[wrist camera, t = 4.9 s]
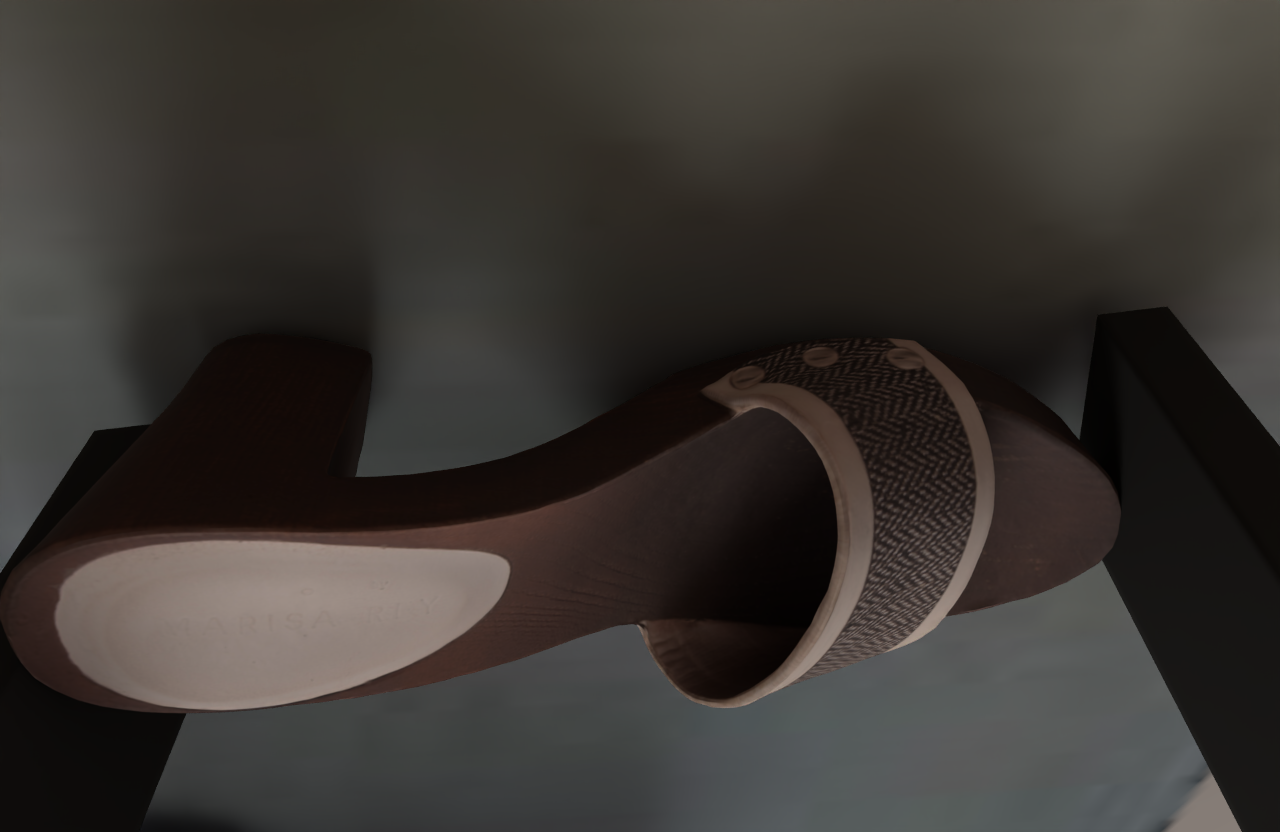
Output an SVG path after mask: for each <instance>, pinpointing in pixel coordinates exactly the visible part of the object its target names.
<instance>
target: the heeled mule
mask: <svg viewBox="0 0 1280 832" xmlns="http://www.w3.org/2000/svg"><path fill="white" fill-rule="evenodd" d="M371 381H372V357H371V354H370V353H369V352H367V351H365V350H364V349H361V348H357V347H353V346H348V345H343V344H339V343H334V342H329V341H324V340H318V339H313V338H307V337H297V336H288V335H279V334H261V333H258V334H251V335H243V336H239V337H236V338H232V339H228V340H226V341H224V342H223V343H221V344H219V345H217V346H216V347H214V348H213V349H212V350H211V351H210V352H209V353H208V355H207V356H206V357H205V358H204V360H203V361H202V363H201V364H200V366H199V367H198V368H197V370H196V371H195V372H194V374H193V375H192V376H191V378H190V379H189V381H188V382H187V383H186V385H185V386H184V387H183V389H182V390H181V391H180V392H179V394H178V395H177V396H176V397H175V399H174V400H173V401H172V402H171V403H170V405H169V406H168V407H167V408H166V409H165V410H164V411H163V412H162V413H161V414H160V416H159V417H158V418H157V419H156V420H155V421H154V422H153V423H152V424H151V425H150V426H149V427H148V428H147V429H146V430H145V432H144V433H143V434H142V435H141V436H140V437H139V438H138V439H137V440H136V441H135V442H134V443H133V444H132V445H131V446H130V447H129V448H128V450H127V451H126V452H125V453H124V454H123V455H122V456H121V457H120V458H119V459H118V460H117V461H116V462H115V463H114V464H113V465H112V466H111V467H110V468H109V469H108V470H107V472H106V473H105V474H104V475H103V476H102V477H101V478H100V479H99V480H98V481H97V482H96V483H95V484H94V485H93V486H92V487H91V489H90V490H89V491H88V492H87V493H86V494H85V495H84V496H83V497H82V498H81V499H80V500H79V501H78V503H77V504H76V505H75V506H74V507H73V508H72V509H71V510H70V511H69V512H68V513H67V514H66V515H65V516H64V517H63V518H62V519H61V520H60V521H59V522H58V524H57V525H56V526H55V527H54V528H53V529H52V530H51V531H50V532H49V534H48V535H47V536H46V537H45V538H44V539H43V540H42V541H41V542H40V543H39V544H38V545H37V546H36V547H35V548H34V549H33V550H32V551H31V552H30V553H29V554H28V555H27V556H26V557H25V558H24V559H23V560H22V561H21V562H20V563H19V564H18V565H17V566H16V567H15V568H14V569H13V570H12V572H11V573H10V575H9V577H8V579H7V581H6V583H5V585H4V587H3V589H2V591H1V597H0V620H1V623H2V625H3V628H4V631H5V633H6V636H7V638H8V641H9V643H10V645H11V647H12V649H13V651H14V652H15V654H16V656H17V658H18V659H19V660H20V662H21V663H22V664H23V666H24V667H25V668H26V669H27V670H28V671H29V672H30V673H31V675H32V676H33V677H34V678H35V679H37V680H38V681H40V682H42V683H43V684H45V685H47V686H48V687H50V688H52V689H53V690H55V691H57V692H60V693H62V694H64V695H67V696H69V697H71V698H74V699H76V700H79V701H83V702H87V703H90V704H94V705H98V706H103V707H110V708H116V709H123V710H132V711H140V712H157V713H213V712H234V711H248V710H260V709H268V708H276V707H283V706H290V705H300V704H310V703H319V702H327V701H333V700H339V699H350V698H358V697H363V696H368V695H374V694H380V693H386V692H391V691H397V690H403V689H408V688H414V687H419V686H423V685H427V684H431V683H435V682H439V681H444V680H447V679H451V678H454V677H457V676H461V675H466V674H471V673H475V672H478V671H481V670H484V669H487V668H491V667H494V666H497V665H500V664H504V663H507V662H511V661H515V660H518V659H521V658H524V657H527V656H530V655H533V654H535V653H538V652H541V651H543V650H546V649H549V648H552V647H555V646H558V645H560V644H563V643H565V642H568V641H571V640H573V639H576V638H579V637H582V636H585V635H589V634H592V633H595V632H598V631H601V630H604V629H607V628H610V627H614V626H618V625H627V624H635V625H637V626H638V627H639V629H640V631H641V633H642V636H643V638H644V641H645V643H646V645H647V648H648V650H649V652H650V653H651V655H652V657H653V659H654V661H655V662H656V664H657V665H658V667H659V668H660V670H661V671H662V672H663V674H664V675H665V676H666V677H667V679H668V680H669V681H670V682H671V684H672V685H673V686H674V687H675V688H676V689H677V690H678V691H679V692H681V693H682V694H683V695H684V696H686V697H687V698H688V699H690V700H692V701H694V702H696V703H699V704H704V705H707V706H710V707H719V708H732V707H740V706H744V705H748V704H750V703H752V702H754V701H756V700H758V699H760V698H762V697H764V696H766V695H768V694H770V693H772V692H775V691H778V690H780V689H783V688H786V687H788V686H791V685H793V684H796V683H799V682H801V681H804V680H807V679H810V678H813V677H816V676H819V675H823V674H826V673H829V672H831V671H834V670H837V669H840V668H843V667H846V666H849V665H851V664H854V663H857V662H859V661H862V660H864V659H867V658H870V657H873V656H876V655H879V654H881V653H885V652H888V651H891V650H894V649H897V648H900V647H902V646H905V645H907V644H909V643H912V642H914V641H916V640H918V639H920V638H921V637H923V636H924V635H925V634H927V633H928V632H930V631H931V630H933V629H934V628H936V627H937V625H938V624H939V623H940V621H941V620H942V619H943V618H944V617H945V616H951V615H958V614H963V613H969V612H974V611H978V610H982V609H986V608H990V607H994V606H997V605H1001V604H1004V603H1007V602H1011V601H1015V600H1019V599H1024V598H1028V597H1031V596H1034V595H1036V594H1039V593H1042V592H1044V591H1047V590H1049V589H1052V588H1054V587H1056V586H1058V585H1061V584H1064V583H1066V582H1068V581H1069V580H1071V579H1073V578H1075V577H1076V576H1078V575H1080V574H1082V573H1083V572H1085V571H1087V570H1088V569H1090V568H1091V567H1093V566H1095V565H1096V564H1098V563H1099V562H1100V561H1101V560H1102V559H1103V558H1104V557H1105V555H1106V554H1107V553H1108V552H1109V551H1110V550H1111V549H1112V547H1113V545H1114V543H1115V540H1116V538H1117V535H1118V530H1119V524H1120V517H1121V503H1120V498H1119V494H1118V491H1117V489H1116V487H1115V485H1114V483H1113V481H1112V479H1111V477H1110V476H1109V475H1108V473H1107V472H1106V471H1105V470H1104V469H1103V468H1102V467H1101V466H1100V464H1099V463H1098V462H1097V461H1096V460H1095V458H1094V457H1093V456H1092V455H1091V453H1090V452H1089V451H1088V450H1087V449H1086V448H1085V447H1084V445H1083V444H1082V443H1081V442H1080V441H1079V439H1078V438H1077V437H1076V436H1075V435H1074V433H1073V432H1072V431H1071V430H1070V428H1069V427H1068V426H1067V425H1066V424H1065V422H1064V421H1063V420H1062V419H1061V418H1060V417H1059V416H1058V415H1057V414H1056V413H1055V412H1053V411H1052V410H1051V409H1050V408H1049V407H1047V406H1046V405H1045V404H1044V403H1042V402H1041V401H1040V400H1038V399H1037V398H1036V397H1034V396H1033V395H1031V394H1030V393H1028V392H1027V391H1025V390H1024V389H1023V388H1021V387H1020V386H1018V385H1017V384H1015V383H1014V382H1012V381H1010V380H1009V379H1007V378H1005V377H1003V376H1001V375H999V374H997V373H994V372H992V371H990V370H988V369H986V368H984V367H981V366H979V365H977V364H975V363H972V362H969V361H966V360H964V359H961V358H958V357H955V356H952V355H948V354H945V353H942V352H939V351H935V350H932V349H928V348H924V347H922V346H921V345H919V344H918V343H917V342H916V341H912V340H903V339H892V338H833V339H818V340H808V341H801V342H794V343H788V344H781V345H774V346H769V347H765V348H761V349H757V350H753V351H749V352H745V353H742V354H738V355H734V356H730V357H727V358H723V359H719V360H715V361H711V362H708V363H704V364H701V365H698V366H695V367H692V368H689V369H686V370H683V371H680V372H677V373H674V374H673V375H671V376H670V377H668V378H667V379H666V380H664V381H662V382H660V383H658V384H656V385H654V386H653V387H651V388H649V389H648V390H646V391H644V392H643V393H641V394H639V395H638V396H636V397H634V398H633V399H631V400H629V401H627V402H625V403H624V404H622V405H620V406H618V407H616V408H614V409H612V410H610V411H608V412H606V413H604V414H602V415H600V416H598V417H596V418H595V419H593V420H591V421H589V422H588V423H586V424H584V425H582V426H581V427H579V428H577V429H575V430H573V431H571V432H568V433H566V434H564V435H562V436H560V437H558V438H556V439H554V440H552V441H549V442H547V443H545V444H542V445H539V446H537V447H534V448H532V449H529V450H526V451H523V452H520V453H517V454H514V455H512V456H509V457H505V458H502V459H498V460H493V461H489V462H485V463H480V464H476V465H471V466H466V467H460V468H454V469H448V470H441V471H433V472H426V473H418V474H410V475H394V476H378V477H355V476H356V472H357V466H358V461H359V457H360V454H361V450H362V446H363V440H364V433H365V427H366V419H367V412H368V404H369V397H370V390H371Z"/></svg>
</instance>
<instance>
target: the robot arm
mask: <svg viewBox="0 0 1280 832" xmlns="http://www.w3.org/2000/svg"><path fill="white" fill-rule="evenodd" d="M150 425H151V424H149V425H140V426H131V427H123V428H114V429H106V430H97V431H94V432H93V434H92V435H91V437H90V438H89V440H88V441H87V443H86V444H85V446H84V447H83V449H82V450H81V452H80V453H79V455H78V456H77V458H76V459H75V461H74V462H73V464H72V465H71V467H70V469H69V470H68V472H67V473H66V475H65V476H64V478H63V479H62V481H61V482H60V484H59V485H58V487H57V488H56V490H55V491H54V493H53V494H52V496H51V497H50V499H49V500H48V502H47V503H46V505H45V506H44V508H43V509H42V511H41V512H40V514H39V516H38V517H37V519H36V520H35V522H34V523H33V525H32V526H31V528H30V529H29V531H28V532H27V534H26V535H25V537H24V538H23V540H22V541H21V543H20V544H19V546H18V547H17V549H16V550H15V552H14V553H13V555H12V556H11V558H10V559H9V561H8V562H7V564H6V566H5V567H4V569H3V570H2V572H1V573H0V597H1V591H2V589H3V587H4V585H5V583H6V581H7V579H8V577H9V575H10V573H11V572H12V570H13V569H14V568H15V567H16V566H17V565H18V564H19V563H20V562H21V561H22V560H23V559H24V558H25V557H26V556H27V555H28V554H29V553H30V552H31V551H32V550H33V549H34V548H35V547H36V546H37V545H38V544H39V543H40V542H41V541H42V540H43V539H44V538H45V537H46V536H47V535H48V534H49V532H50V531H51V530H52V529H53V528H54V527H55V526H56V525H57V524H58V522H59V521H60V520H61V519H62V518H63V517H64V516H65V515H66V514H67V513H68V512H69V511H70V510H71V509H72V508H73V507H74V506H75V505H76V504H77V503H78V501H79V500H80V499H81V498H82V497H83V496H84V495H85V494H86V493H87V492H88V491H89V490H90V489H91V487H92V486H93V485H94V484H95V483H96V482H97V481H98V480H99V479H100V478H101V477H102V476H103V475H104V474H105V473H106V472H107V470H108V469H109V468H110V467H111V466H112V465H113V464H114V463H115V462H116V461H117V460H118V459H119V458H120V457H121V456H122V455H123V454H124V453H125V452H126V451H127V450H128V448H129V447H130V446H131V445H132V444H133V443H134V442H135V441H136V440H137V439H138V438H139V437H140V436H141V435H142V434H143V433H144V432H145V430H146V429H147V428H148V427H149V426H150ZM1080 442H1081V443H1082V444H1083V445H1084V447H1085V448H1086V449H1087V450H1088V451H1089V452H1090V453H1091V455H1092V456H1093V457H1094V458H1095V460H1096V461H1097V462H1098V463H1099V464H1100V466H1101V467H1102V468H1103V469H1104V470H1105V471H1106V472H1107V473H1108V475H1109V476H1110V477H1111V479H1112V481H1113V483H1114V485H1115V487H1116V489H1117V491H1118V494H1119V498H1120V503H1121V517H1120V524H1119V530H1118V535H1117V538H1116V540H1115V543H1114V545H1113V547H1112V549H1111V550H1110V551H1109V552H1108V553H1107V554H1106V555H1105V557H1104V558H1103V559H1102V561H1103V563H1104V565H1105V566H1106V568H1107V570H1108V572H1109V574H1110V576H1111V578H1112V580H1113V582H1114V584H1115V586H1116V588H1117V590H1118V592H1119V594H1120V596H1121V598H1122V599H1123V601H1124V603H1125V605H1126V607H1127V609H1128V611H1129V613H1130V615H1131V617H1132V619H1133V621H1134V623H1135V625H1136V627H1137V629H1138V631H1139V633H1140V634H1141V636H1142V638H1143V640H1144V642H1145V644H1146V646H1147V648H1148V650H1149V652H1150V654H1151V656H1152V658H1153V660H1154V662H1155V664H1156V666H1157V668H1158V669H1159V671H1160V673H1161V675H1162V677H1163V679H1164V681H1165V683H1166V685H1167V687H1168V689H1169V691H1170V693H1171V695H1172V697H1173V699H1174V701H1175V703H1176V704H1177V706H1178V708H1179V710H1180V712H1181V714H1182V716H1183V718H1184V720H1185V722H1186V724H1187V726H1188V728H1189V730H1190V732H1191V734H1192V736H1193V738H1194V739H1195V741H1196V743H1197V745H1198V747H1199V749H1200V751H1201V753H1202V755H1203V757H1204V759H1205V761H1206V763H1207V765H1208V767H1209V769H1210V771H1211V773H1212V774H1213V776H1214V778H1215V780H1216V782H1217V784H1218V786H1219V788H1220V790H1221V792H1222V794H1223V796H1224V798H1225V800H1226V802H1227V804H1228V805H1229V807H1230V809H1231V811H1232V813H1233V815H1234V817H1235V819H1236V821H1237V823H1238V825H1239V827H1240V829H1241V831H1242V832H1280V446H1279V445H1278V444H1277V442H1276V441H1275V440H1274V439H1273V437H1272V436H1271V435H1270V434H1269V432H1268V431H1267V430H1266V429H1265V427H1264V426H1263V425H1262V424H1261V422H1260V421H1259V420H1258V419H1257V418H1256V416H1255V415H1254V414H1253V413H1252V411H1251V410H1250V409H1249V408H1248V406H1247V405H1246V404H1245V403H1244V401H1243V400H1242V399H1241V398H1240V396H1239V395H1238V394H1237V393H1236V391H1235V390H1234V389H1233V388H1232V386H1231V385H1230V384H1229V383H1228V381H1227V380H1226V379H1225V378H1224V376H1223V375H1222V374H1221V373H1220V371H1219V370H1218V369H1217V368H1216V367H1215V365H1214V364H1213V363H1212V362H1211V360H1210V359H1209V358H1208V357H1207V355H1206V354H1205V353H1204V352H1203V350H1202V349H1201V348H1200V347H1199V345H1198V344H1197V343H1196V342H1195V340H1194V339H1193V338H1192V337H1191V335H1190V334H1189V333H1188V332H1187V330H1186V329H1185V328H1184V327H1183V325H1182V324H1181V323H1180V322H1179V320H1178V319H1177V318H1176V317H1175V315H1174V314H1173V313H1172V312H1171V311H1170V309H1169V308H1168V307H1160V308H1151V309H1142V310H1134V311H1125V312H1116V313H1108V314H1099V315H1097V321H1096V329H1095V336H1094V343H1093V350H1092V357H1091V364H1090V371H1089V378H1088V385H1087V392H1086V399H1085V406H1084V413H1083V420H1082V427H1081V434H1080ZM185 715H186V713H157V712H140V711H132V710H123V709H116V708H110V707H103V706H98V705H94V704H90V703H87V702H83V701H79V700H76V699H74V698H71V697H69V696H67V695H64V694H62V693H60V692H57V691H55V690H53V689H52V688H50V687H48V686H47V685H45V684H43V683H42V682H40V681H38V680H37V679H35V678H34V677H33V676H32V675H31V673H30V672H29V671H28V670H27V669H26V668H25V667H24V666H23V664H22V663H21V662H20V660H19V659H18V658H17V656H16V654H15V652H14V651H13V649H12V647H11V645H10V643H9V641H8V638H7V636H6V633H5V631H4V628H3V625H2V623H1V620H0V832H139V830H140V827H141V825H142V822H143V820H144V817H145V815H146V812H147V810H148V807H149V805H150V802H151V800H152V797H153V795H154V792H155V790H156V787H157V785H158V782H159V780H160V777H161V775H162V772H163V770H164V767H165V765H166V763H167V760H168V758H169V755H170V753H171V750H172V748H173V745H174V743H175V740H176V738H177V735H178V733H179V730H180V728H181V725H182V723H183V720H184V718H185Z"/></svg>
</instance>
